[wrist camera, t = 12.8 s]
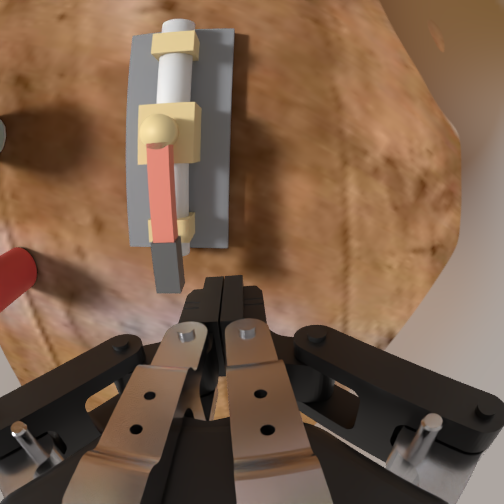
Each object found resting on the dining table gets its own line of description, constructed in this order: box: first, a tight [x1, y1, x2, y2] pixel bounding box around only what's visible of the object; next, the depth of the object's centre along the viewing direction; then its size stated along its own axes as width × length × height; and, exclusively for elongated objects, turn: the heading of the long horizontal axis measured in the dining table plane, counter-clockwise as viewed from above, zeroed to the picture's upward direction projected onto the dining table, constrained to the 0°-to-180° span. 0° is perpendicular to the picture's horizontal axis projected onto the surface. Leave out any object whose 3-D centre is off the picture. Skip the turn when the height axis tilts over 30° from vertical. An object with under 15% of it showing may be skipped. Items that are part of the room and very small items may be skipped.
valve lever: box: [140, 114, 185, 293], centre depth 27 cm, size 17×3×2 cm, turn 1°
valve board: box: [126, 19, 235, 256], centre depth 30 cm, size 26×12×7 cm, turn 178°
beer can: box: [0, 247, 37, 312], centre depth 32 cm, size 7×7×12 cm
